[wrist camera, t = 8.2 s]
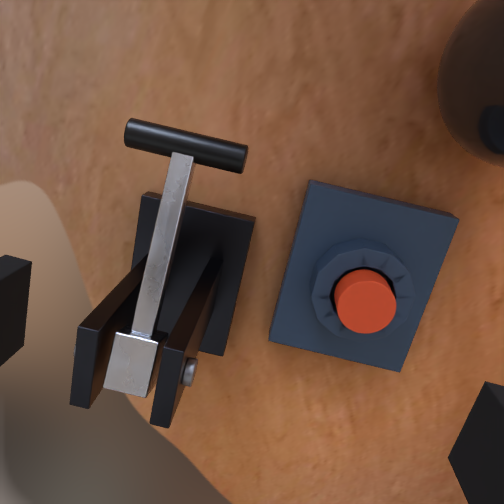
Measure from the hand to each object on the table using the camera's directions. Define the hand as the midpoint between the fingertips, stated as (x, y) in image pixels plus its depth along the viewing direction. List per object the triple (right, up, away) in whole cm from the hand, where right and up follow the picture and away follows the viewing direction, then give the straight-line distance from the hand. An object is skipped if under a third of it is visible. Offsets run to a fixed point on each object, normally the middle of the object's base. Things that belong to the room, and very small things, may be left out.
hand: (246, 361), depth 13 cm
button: (+7, 0, +17) cm, 18 cm away
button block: (+8, +1, +20) cm, 22 cm away
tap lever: (-4, +3, +11) cm, 12 cm away
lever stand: (-5, +1, +21) cm, 22 cm away
